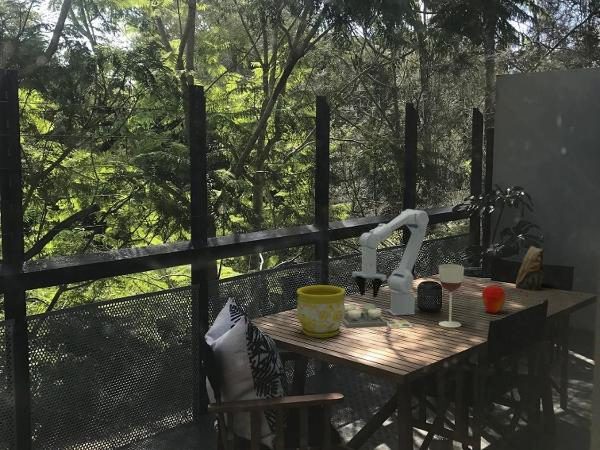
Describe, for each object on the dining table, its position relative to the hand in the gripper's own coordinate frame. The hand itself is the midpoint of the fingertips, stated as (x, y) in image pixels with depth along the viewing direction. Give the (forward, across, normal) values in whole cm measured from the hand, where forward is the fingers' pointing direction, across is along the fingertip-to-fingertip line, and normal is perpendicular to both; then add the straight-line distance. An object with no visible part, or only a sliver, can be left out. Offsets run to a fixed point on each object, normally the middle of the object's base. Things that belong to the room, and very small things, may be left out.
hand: (368, 295), depth 258 cm
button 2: (+7, 0, -11) cm, 14 cm away
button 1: (+7, -6, -6) cm, 11 cm away
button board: (+9, 0, -6) cm, 11 cm away
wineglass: (+10, +30, +11) cm, 34 cm away
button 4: (+7, +6, -6) cm, 11 cm away
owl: (+10, +37, +93) cm, 101 cm away
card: (+9, +14, -1) cm, 17 cm away
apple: (+10, +38, +38) cm, 55 cm away
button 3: (+7, 0, 0) cm, 7 cm away
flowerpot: (+10, -5, -28) cm, 30 cm away
